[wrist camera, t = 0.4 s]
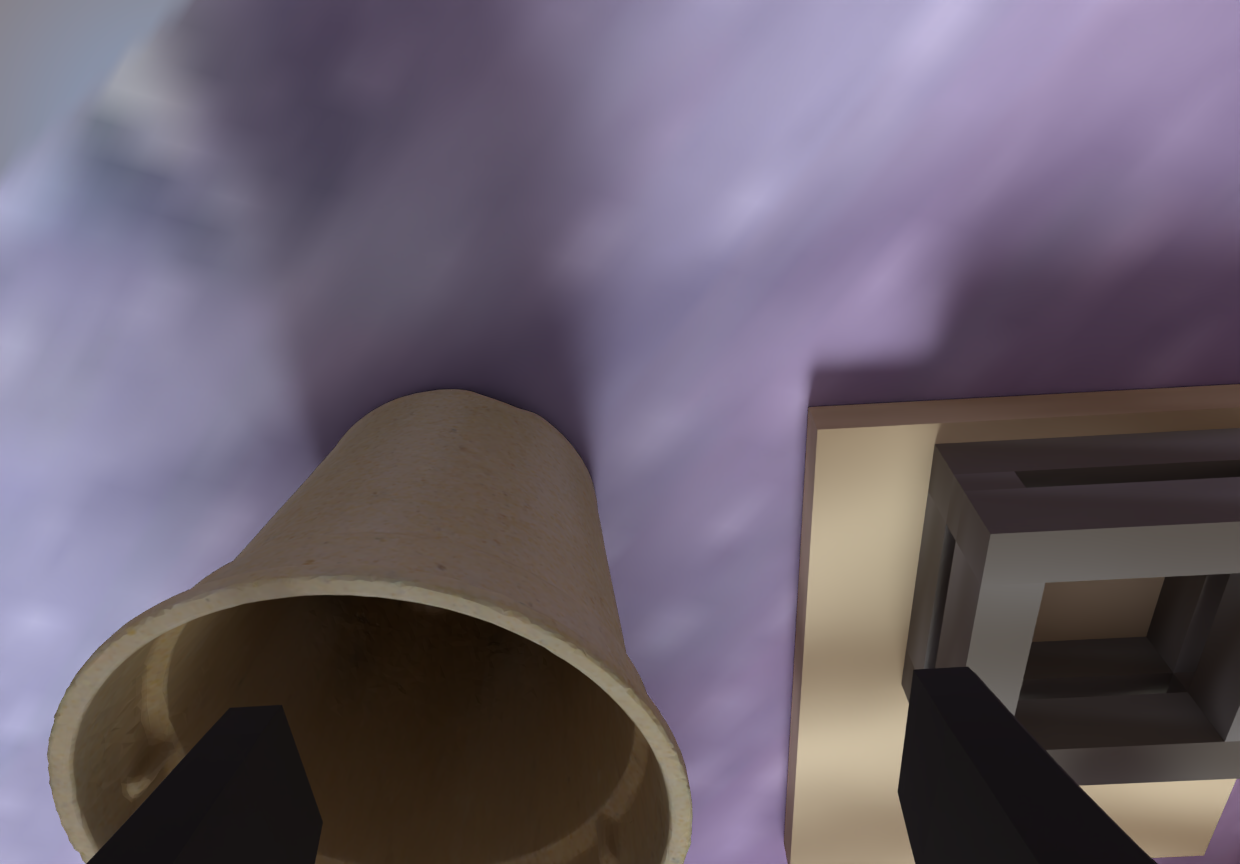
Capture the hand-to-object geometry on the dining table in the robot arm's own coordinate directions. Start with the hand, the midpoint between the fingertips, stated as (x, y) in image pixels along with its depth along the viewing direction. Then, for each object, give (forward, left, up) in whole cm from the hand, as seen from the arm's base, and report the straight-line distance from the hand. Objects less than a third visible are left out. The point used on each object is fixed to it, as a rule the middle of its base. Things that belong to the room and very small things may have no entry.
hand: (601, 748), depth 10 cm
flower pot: (-3, +4, -10) cm, 11 cm away
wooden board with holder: (-9, -10, -10) cm, 17 cm away
